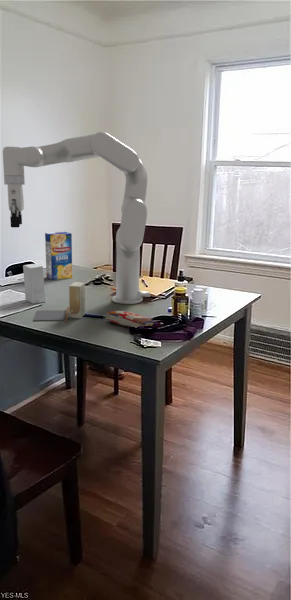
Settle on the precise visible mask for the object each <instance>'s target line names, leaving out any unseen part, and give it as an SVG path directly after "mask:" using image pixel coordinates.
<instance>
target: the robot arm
mask: <svg viewBox="0 0 291 600" xmlns="http://www.w3.org/2000/svg"><path fill="white" fill-rule="evenodd" d="M99 157H100V158H101V159H103V160H105V161H106V162H108V163H109V164H110V165H112V166H114V167H115V168H117V169H118V170H119V171H120V172H122V173H123V174H124V176H125V187H124V195H123V200H122V205H121V209H120V210H121V219H120V226H119V228H118V229H117V231H116V234H115V235H116V236H115V245H116V248H115V249H116V251H115V252H116V266H115V267H116V271H115V272H116V273H115V277H116V278H115V281H116V282H115V283H116V284H115V289H116V290H115V295H113V296H112V302H114V303H117V304H122V305H123V304H124V305H134V304H135V305H136V304H140V303H142V302H143V298H144V297H145V298H147V297H149V298H150V297H151V291H150V292H149V291H145V290H144V291H141V289H140V265H141V264H140V263H141V261H140V259H141V253H140V251H141V249H140V247H141V245H142V244H143V240H144V237H145V236H144V235H145V230H146V224H147V218H148V208H147V206H146V198H147V197H146V196H147V188H148V172H147V169H146V167H145V165H144V163H143V162H142V160H141V159H140V157H139V155H138V154H137V152H136V151H134V150H133V149H132V148H130V147H129V146H127V145H126V144H124V143H122V142H121V141H119V140H118V139H116V138H115V137H114V136H113V135H111V134H109V133H108V132H106V131H98V132H96V133H93V134H92V133H91V134H88V135H82V136H76V137H75V136H74V137H69V138H65V139H63V140H61V141H59V142H56V143H51V144H46V145H41V146H24V147H23V146H22V147H20V146H3V148H2V163H3V182H4V183H3V184H4V185H5V186H6V185H7V199H8V200H7V201H8V211H10V216H9V219H10V227H11V228H20V225H22V224H23V217H22V216H23V215H22V212H23V210H24V209H25V204H24V201H25V200H24V190H23V186H24V185H25V183H26V182H25V167H27V168H28V167H29V168H39V167H40V168H41V167H45V166H51V165H55V164H61V163H62V164H64V163H73V162H78V161H82V160H84V161H85V160H89V159H95V158H99Z"/></svg>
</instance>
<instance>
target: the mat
mask: <svg viewBox="0 0 291 600" xmlns="http://www.w3.org/2000/svg"><path fill="white" fill-rule="evenodd" d="M65 313H66V309H64V310H63V309H56V310H55V309H54V310H53V309H52V310H51V309H49V310H41V309H39V310H37V311H36V314H35V316H34V318H33V322H65Z"/></svg>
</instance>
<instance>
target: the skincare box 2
mask: <svg viewBox="0 0 291 600" xmlns="http://www.w3.org/2000/svg"><path fill="white" fill-rule="evenodd" d="M68 289H69V290H68V293H69V294H68V295H69V298H68V299H69V301H68V302H69V318H71V319H72V318H74V319H82V318H83V316H85V314H86V284H85V282H80V281H77V282H76V281H73V282H72V283H70V285H68Z"/></svg>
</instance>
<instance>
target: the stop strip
mask: <svg viewBox="0 0 291 600" xmlns="http://www.w3.org/2000/svg"><path fill="white" fill-rule="evenodd" d="M65 310H66V313H65V321H64V323H65V322H66V323H67V322H68V321H69V317H70V306H66V307H65Z"/></svg>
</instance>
